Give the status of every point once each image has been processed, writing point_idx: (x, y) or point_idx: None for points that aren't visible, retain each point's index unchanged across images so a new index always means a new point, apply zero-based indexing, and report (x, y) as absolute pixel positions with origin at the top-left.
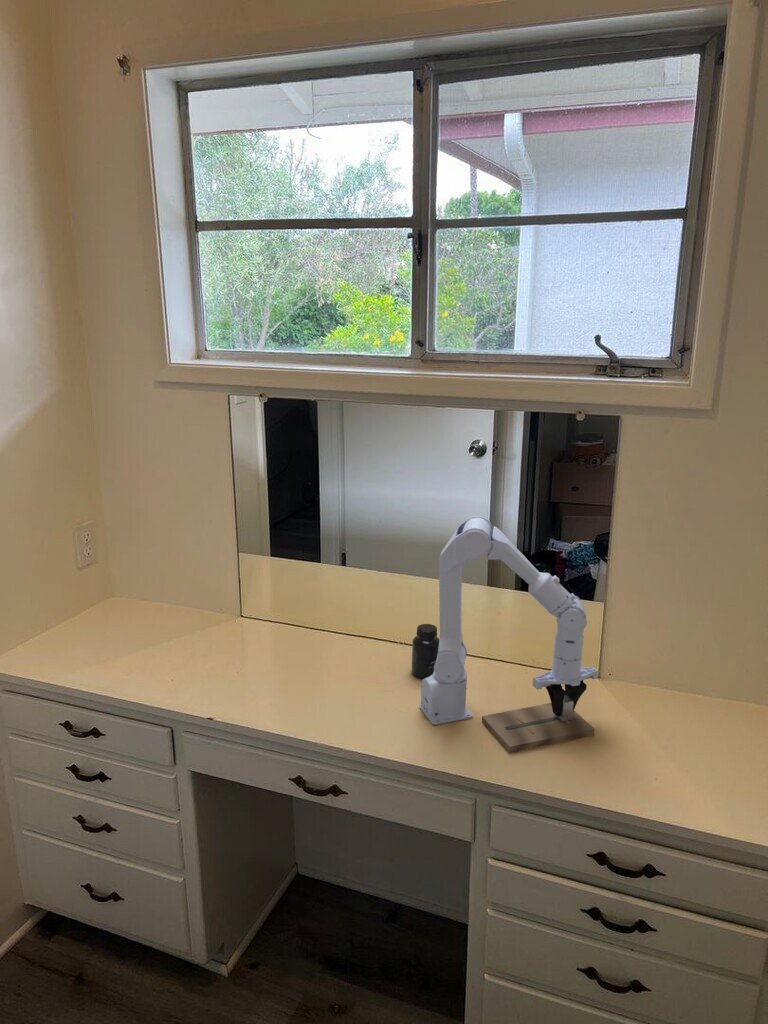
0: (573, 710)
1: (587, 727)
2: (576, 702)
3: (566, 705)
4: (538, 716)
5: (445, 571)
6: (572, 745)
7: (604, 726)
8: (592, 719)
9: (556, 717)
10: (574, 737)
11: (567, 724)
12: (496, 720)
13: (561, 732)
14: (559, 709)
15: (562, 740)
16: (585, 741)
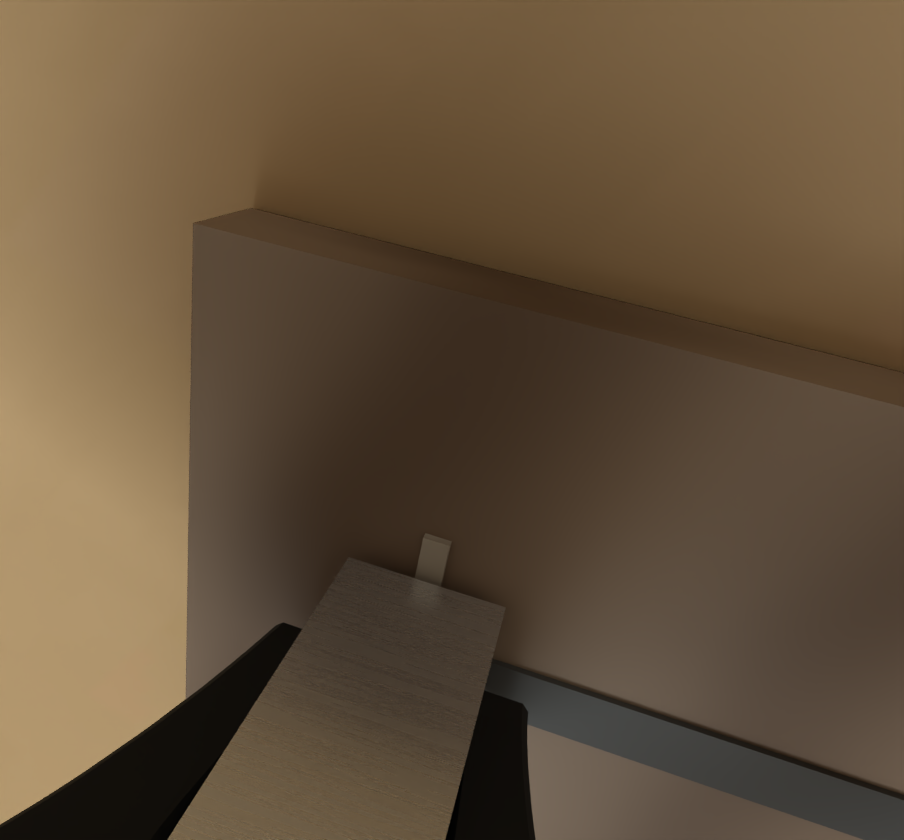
0: (253, 655)
1: (270, 315)
2: (124, 763)
3: (368, 830)
4: (656, 831)
5: None
6: (723, 191)
7: (27, 282)
8: (80, 453)
9: None
10: (568, 295)
11: (472, 530)
12: None
13: (738, 453)
14: (515, 819)
15: (787, 348)
16: (462, 162)
